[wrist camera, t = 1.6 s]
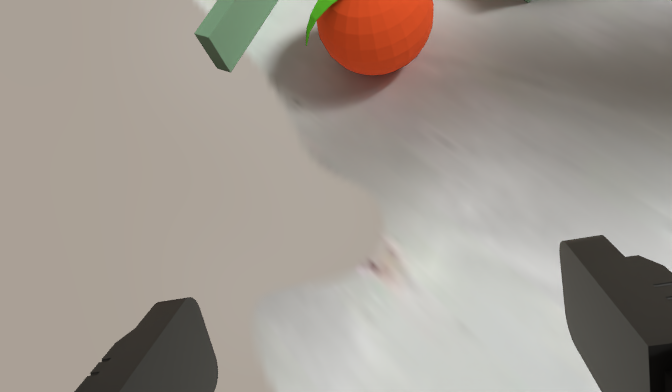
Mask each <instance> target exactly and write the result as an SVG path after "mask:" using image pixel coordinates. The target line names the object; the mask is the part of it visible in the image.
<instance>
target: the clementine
mask: <svg viewBox="0 0 672 392" xmlns="http://www.w3.org/2000/svg"><path fill="white" fill-rule="evenodd" d="M316 21H317V27H318V31H319V36H320V39H321V41H322V42H323V44H324V46H325V48H326V49H327V51H328V52H329V54H330V56H331V57H332V58H334V59H335V60H336V61H337V62H338V63H340V64H341V65H342V66H344V67H345V68H346V69H348V70H351V71H353V72H355V73H358V74H365V75H384V74H387V73H391V72H394V71H396V70H398V69H400V68H402V67H403V66H405V65H407V64H408V63H409V62H411V61H412V60H413V59H414V58H415V57H417V55H418V54H419V52H420V51H421V50H422V48H423V47H424V45H425V43H426V41H427V39H428V37H429V34H430V32H431V29H432V23H433V1H432V0H318V1H317V3H316V5H315V7H314V9H313V11H312V13H311V15H310V18H309V22H308V25H307V31H306V46H307V42H308V38H309V33H310V31H311V29H312V27H313V26H314V24H315V22H316Z"/></svg>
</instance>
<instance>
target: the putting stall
mask: <svg viewBox="0 0 672 392" xmlns="http://www.w3.org/2000/svg"><path fill="white" fill-rule="evenodd" d="M277 1H278V0H218V1H217V2H216V3H215V5H214V6H213V8H212V9H211V11H210V12H209V13H208V15H207V16H206V18H205V19H204V21H203V22H202V23H201V25H200V26H199V28H198V29H197V31H196V32H195V35H196V37H197V38H198V40H199V41H200V43H201V44H202V46H203V47H204V49H205V50H206V52H207V54H208V55H209V57H210V58H211V60H212V61H213V63H214V64H215V66H216V67H217V68H218V69H221V70H224V71H228V72H231V71H232V70H233V68H234V67H235V65H236V64H237V62H238V61H239V59H240V58H241V56H242V55H243V53H244V51H245V50H246V48H247V47H248V45H249V44H250V42H251V41H252V39H253V38H254V36H255V35H256V33H257V32H258V30H259V29H260V27H261V26H262V24H263V23H264V21H265V19H266V18H267V16H268V15H269V13H270V12H271V10H272V9H273V7H274V6H275V4H276V3H277ZM524 1H526V2H530V1H531V0H524Z"/></svg>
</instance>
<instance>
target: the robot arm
mask: <svg viewBox="0 0 672 392" xmlns="http://www.w3.org/2000/svg"><path fill="white" fill-rule="evenodd" d="M560 263H561V273H562V284H563V294H564V304H565V314H566V320H567V324H568V328H569V332H570V335H571V337H572V340H573V342H574V344H575V346H576V348H577V350H578V352H579V353H580V355H581V357H582V358H583V360H584V362H585V364H586V365H587V367H588V369H589V371H590V372H591V374H592V376H593V378H594V379H595V381H596V383H597V384H598V386H599V388H600V390H601V391H602V392H672V273H671V272H670V271H669V270H668V269H667V268H666V267H665V266H663V265H661V264H658V263H656V262H653V261H651V260H648V259H646V258H644V257H641V256H639V255H637V256H630V257H625V256H624V255H623V254H622V253H621V252H620V251H619V250H618V249H617V248H616V247H615V246H614V245H613V244H612V243H611V242H610V241H609V240H608V239H607V238H606V237H604V236H603V235H599V236H592V237H586V238H579V239H573V240H566V241H562V242H561V243H560ZM217 379H218V366H217V360H216V356H215V353H214V350H213V347H212V344H211V341H210V338H209V335H208V332H207V329H206V326H205V323H204V320H203V317H202V314H201V311H200V308H199V305H198V303H197V302H196V300H195V299H193V298H191V297H190V298H183V299H176V300H170V301H163V302H158V303H156V304H155V305H154V306H153V307H152V308H151V310H150V311H149V312H148V313H147V315H146V316H145V317H144V318H143V319H142V321H141V322H140V323H139V324H138V326H137V327H136V328H135V329H134V330H132V331H131V332H130V333H128V334H127V335H126V336H124V337H123V338H122V339H120V340H119V341H118V342H116V343H115V344H114V346H113V347H112V348H111V349H110V350H109V351H108V352H107V354H106V355H105V356H104V357H103V358H102V362H99V363H98V364H97V366H96V367H95V368H94V369H93V370H92V372H91V376H87V377H86V379H85V380H84V381H83V382H82V384H81V385H80V386H79V387H78V388H77V389H76V391H75V392H214V390H215V388H216V384H217Z"/></svg>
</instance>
